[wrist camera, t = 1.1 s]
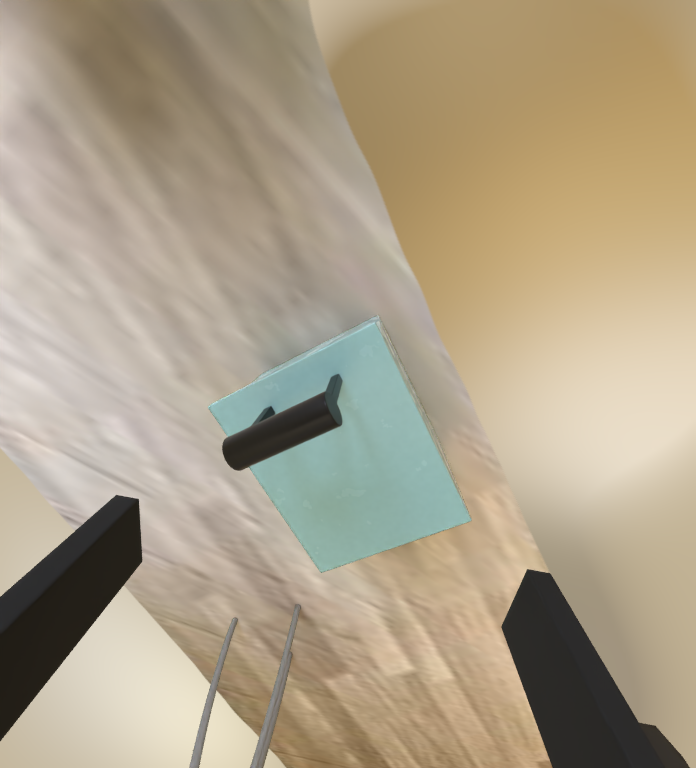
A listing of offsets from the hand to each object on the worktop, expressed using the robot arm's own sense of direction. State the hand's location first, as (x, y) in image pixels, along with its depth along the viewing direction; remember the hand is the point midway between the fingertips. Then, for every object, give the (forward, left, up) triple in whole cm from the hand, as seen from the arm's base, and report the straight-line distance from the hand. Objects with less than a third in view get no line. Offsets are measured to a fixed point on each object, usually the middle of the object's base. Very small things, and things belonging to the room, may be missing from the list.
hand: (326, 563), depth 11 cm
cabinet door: (+5, -2, -16) cm, 17 cm away
